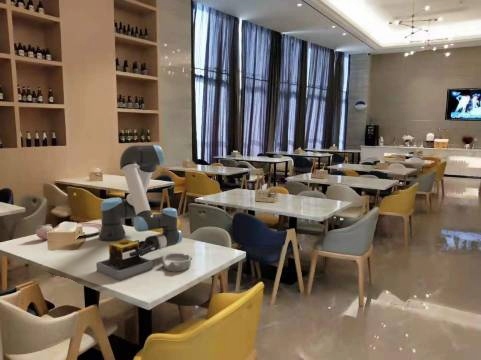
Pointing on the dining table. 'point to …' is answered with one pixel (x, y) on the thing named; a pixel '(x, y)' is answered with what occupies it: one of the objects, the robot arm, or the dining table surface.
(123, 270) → the tray
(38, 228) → the decorative fruit
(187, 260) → the dish
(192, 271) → the dining table surface
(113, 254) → the candle
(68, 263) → the dining table surface
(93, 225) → the dinner plate
